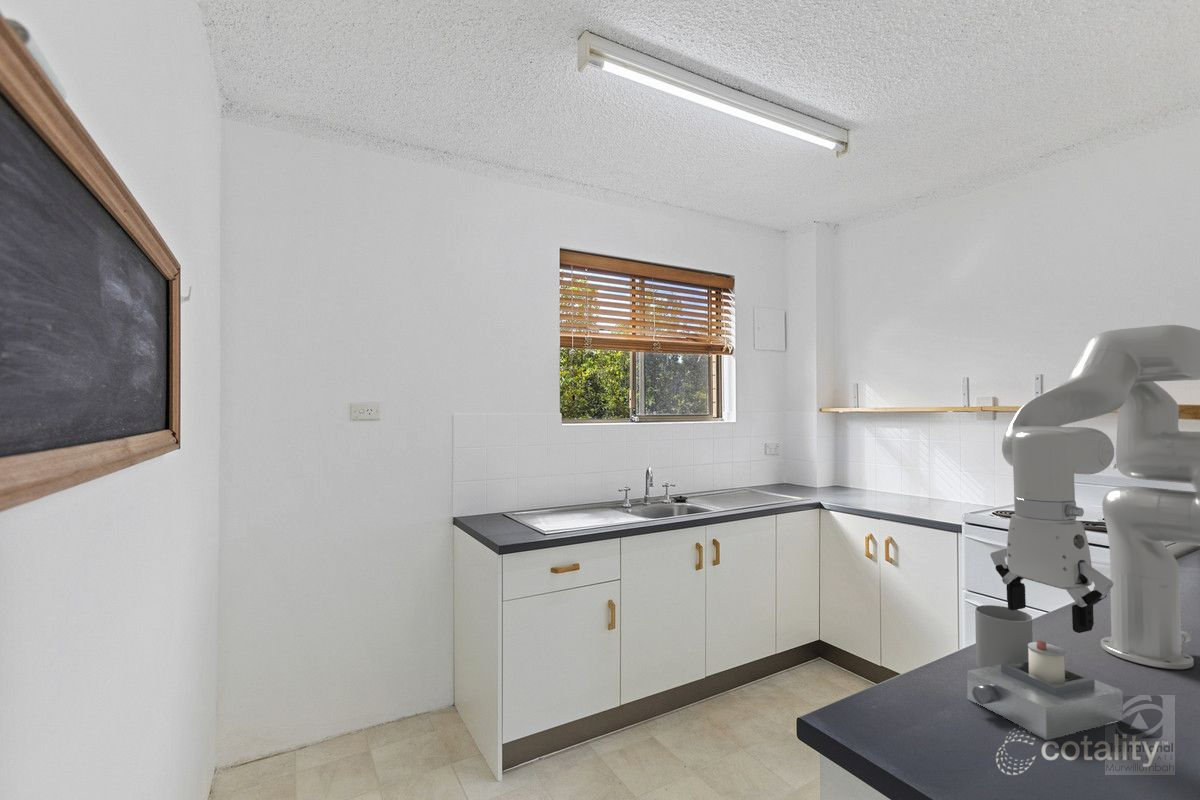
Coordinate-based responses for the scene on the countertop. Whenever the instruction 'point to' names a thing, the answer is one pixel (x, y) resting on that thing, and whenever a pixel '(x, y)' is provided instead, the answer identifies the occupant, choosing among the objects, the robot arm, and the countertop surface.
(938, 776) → the countertop surface
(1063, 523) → the robot arm
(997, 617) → the cup
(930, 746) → the countertop surface
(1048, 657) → the cream white cylinder
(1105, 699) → the grey holder block
